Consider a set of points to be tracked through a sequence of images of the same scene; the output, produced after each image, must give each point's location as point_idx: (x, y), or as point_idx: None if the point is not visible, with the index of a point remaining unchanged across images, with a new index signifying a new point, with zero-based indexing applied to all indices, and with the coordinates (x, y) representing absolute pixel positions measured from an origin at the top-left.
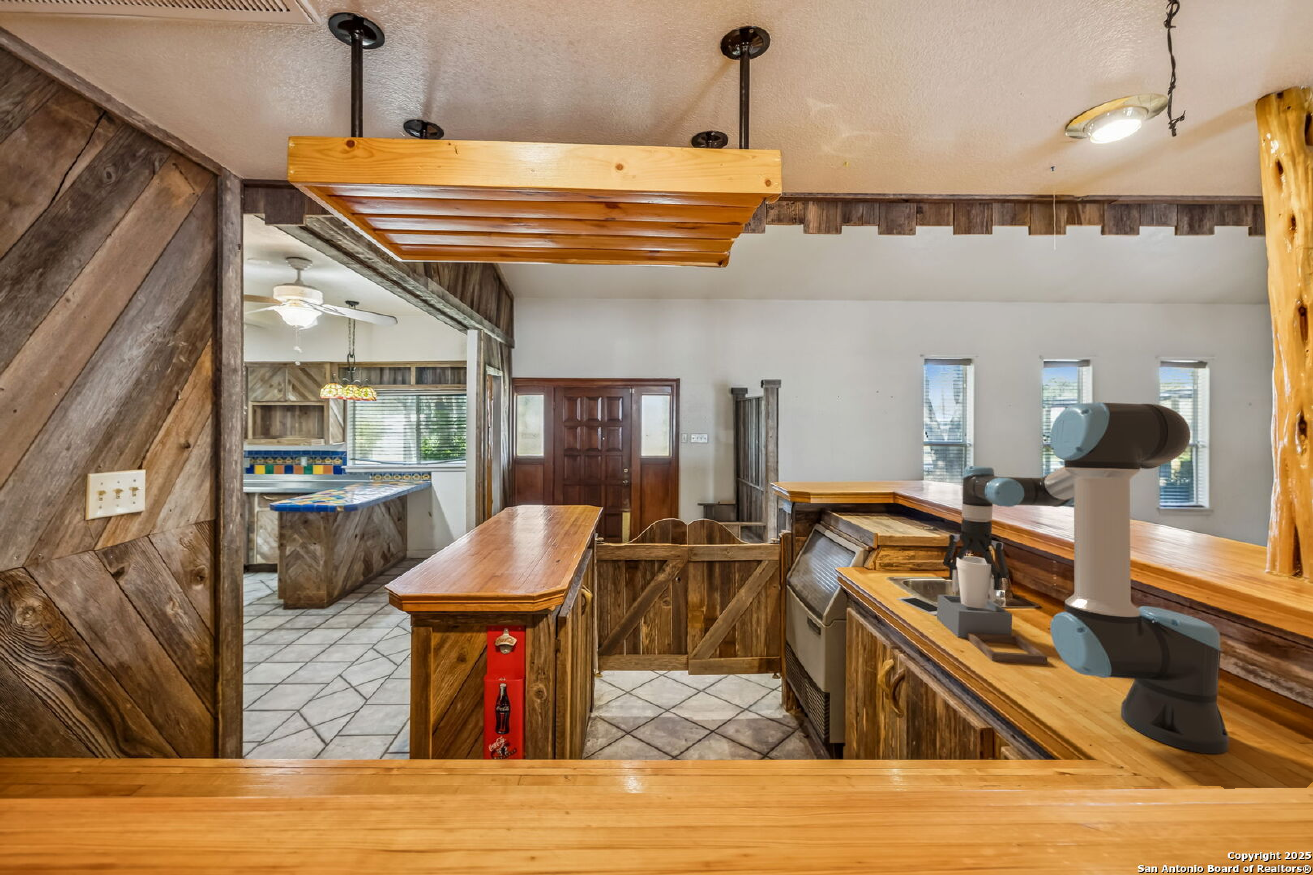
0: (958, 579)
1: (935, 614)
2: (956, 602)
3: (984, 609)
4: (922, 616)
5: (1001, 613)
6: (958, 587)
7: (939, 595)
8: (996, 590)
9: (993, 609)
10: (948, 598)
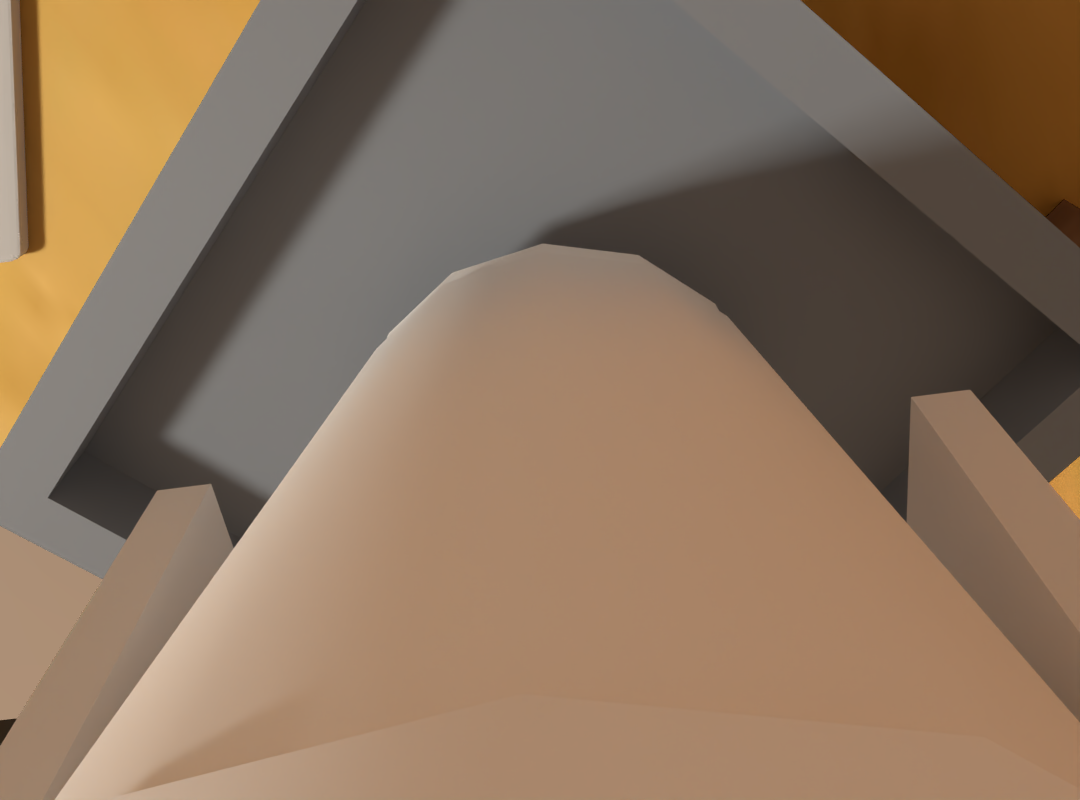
0: (126, 677)
1: (22, 237)
2: (231, 328)
3: (673, 241)
4: (12, 408)
5: (1051, 476)
6: (192, 526)
7: (15, 521)
8: (1068, 518)
9: (769, 89)
10: (111, 403)
